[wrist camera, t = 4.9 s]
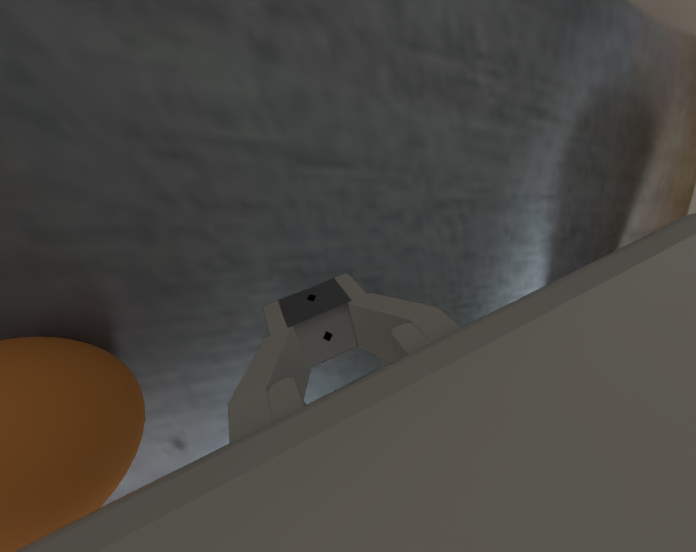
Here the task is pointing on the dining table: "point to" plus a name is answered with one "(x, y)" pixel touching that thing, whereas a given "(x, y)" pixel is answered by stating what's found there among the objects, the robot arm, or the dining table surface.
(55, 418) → the ball
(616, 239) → the dining table surface
